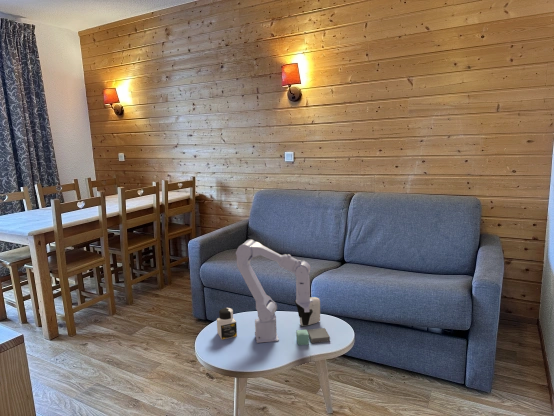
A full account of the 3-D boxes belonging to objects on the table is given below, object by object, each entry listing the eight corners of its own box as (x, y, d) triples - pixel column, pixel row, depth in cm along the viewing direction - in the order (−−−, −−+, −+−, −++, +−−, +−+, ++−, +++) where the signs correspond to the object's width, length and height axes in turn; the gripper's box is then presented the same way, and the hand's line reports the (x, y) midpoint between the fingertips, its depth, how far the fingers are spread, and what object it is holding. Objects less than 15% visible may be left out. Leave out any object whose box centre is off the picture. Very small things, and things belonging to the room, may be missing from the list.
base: (311, 343, 161) (311, 338, 161) (307, 333, 169) (307, 329, 169) (329, 341, 162) (329, 336, 162) (324, 332, 170) (324, 328, 170)
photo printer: (316, 318, 183) (316, 294, 181) (321, 322, 180) (321, 297, 178) (298, 323, 179) (298, 299, 176) (303, 327, 175) (303, 302, 173)
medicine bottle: (221, 340, 166) (220, 314, 164) (217, 333, 172) (215, 308, 170) (237, 336, 168) (236, 311, 166) (232, 329, 175) (231, 305, 173)
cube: (298, 345, 160) (298, 335, 159) (296, 340, 164) (296, 330, 163) (309, 344, 160) (308, 334, 159) (306, 339, 165) (306, 329, 164)
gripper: (316, 296, 152) (316, 328, 154) (308, 283, 166) (308, 312, 169) (299, 298, 151) (299, 329, 153) (292, 284, 165) (293, 314, 168)
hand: (303, 321), depth 161 cm, fingers open, 7 cm apart
